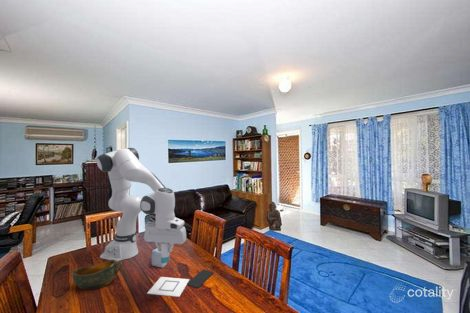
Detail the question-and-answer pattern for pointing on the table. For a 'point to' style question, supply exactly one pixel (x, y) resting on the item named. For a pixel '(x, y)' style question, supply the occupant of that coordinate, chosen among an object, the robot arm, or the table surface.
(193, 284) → the phone
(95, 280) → the green oval bowl
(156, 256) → the medicine box
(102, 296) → the table surface
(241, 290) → the table surface
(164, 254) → the marker
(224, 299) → the table surface
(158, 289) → the paper
